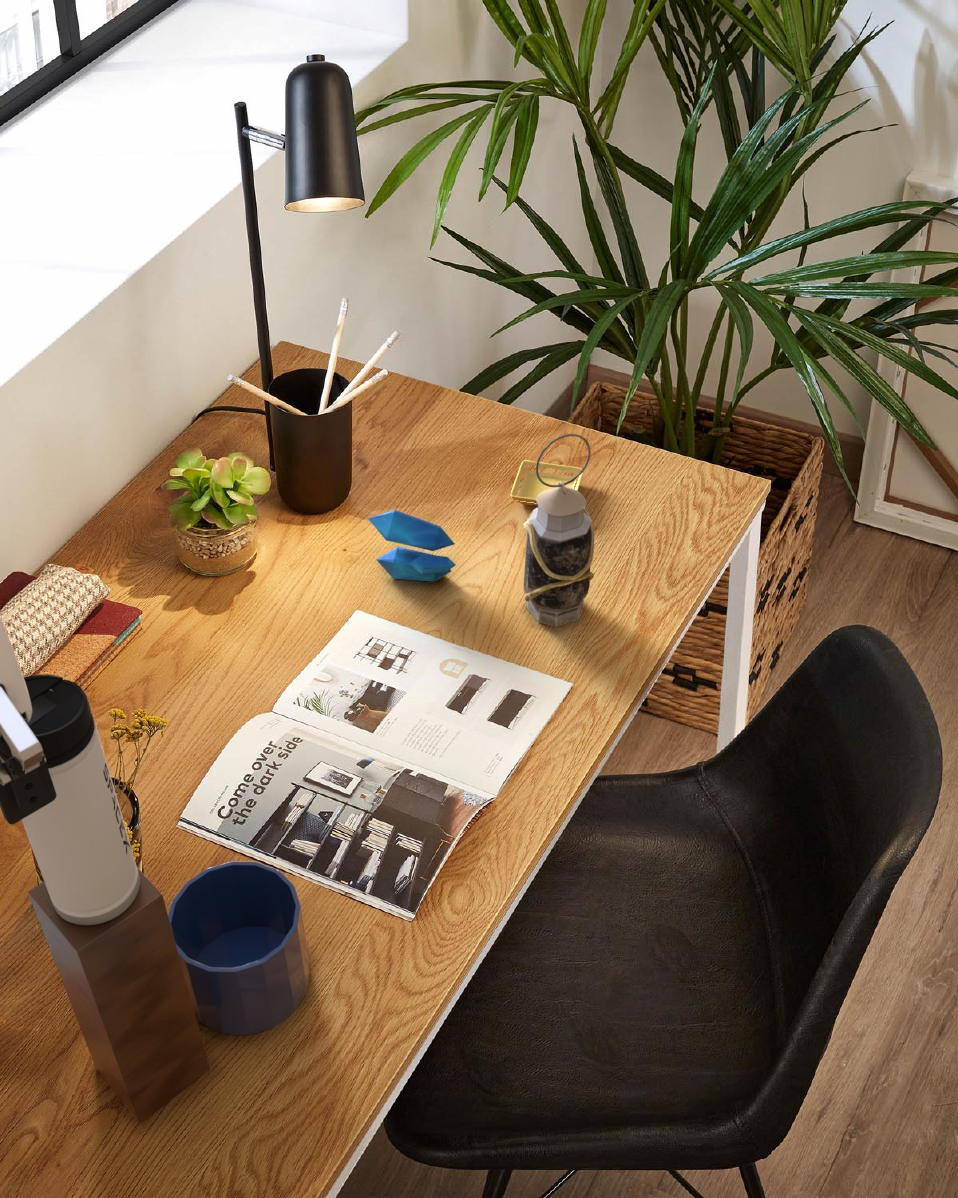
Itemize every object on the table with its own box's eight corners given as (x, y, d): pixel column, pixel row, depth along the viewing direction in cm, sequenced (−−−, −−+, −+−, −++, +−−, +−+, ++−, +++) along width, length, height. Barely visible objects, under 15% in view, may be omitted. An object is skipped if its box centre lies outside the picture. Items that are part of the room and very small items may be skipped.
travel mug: (30, 903, 92) (-45, 710, 79) (99, 842, 96) (39, 650, 83) (90, 945, 89) (23, 753, 76) (158, 882, 93) (106, 689, 80)
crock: (232, 1060, 109) (216, 997, 103) (160, 977, 116) (141, 912, 109) (334, 981, 115) (325, 916, 109) (261, 906, 121) (248, 840, 115)
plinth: (139, 1124, 105) (76, 951, 89) (95, 1067, 109) (27, 891, 93) (210, 1070, 109) (162, 894, 92) (164, 1016, 113) (111, 838, 96)
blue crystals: (459, 554, 151) (362, 525, 150) (444, 605, 157) (350, 578, 156) (470, 516, 156) (376, 488, 156) (455, 567, 162) (364, 541, 162)
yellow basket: (584, 480, 174) (584, 467, 172) (573, 517, 167) (573, 504, 166) (522, 471, 175) (522, 459, 174) (508, 508, 169) (509, 495, 168)
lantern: (571, 579, 158) (582, 407, 141) (603, 618, 152) (619, 444, 136) (508, 598, 155) (512, 426, 139) (539, 639, 150) (547, 464, 133)
